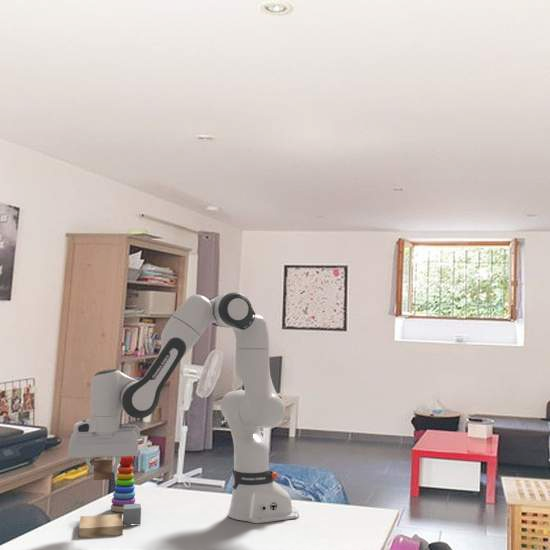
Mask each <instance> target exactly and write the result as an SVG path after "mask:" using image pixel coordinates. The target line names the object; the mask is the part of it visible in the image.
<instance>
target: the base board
mask: <svg viewBox="0 0 550 550" xmlns="http://www.w3.org/2000/svg"><path fill="white" fill-rule="evenodd" d="M78 528H79V529H78V538H92V537H109V535H110V536H118V535H117V534H123V533H124V526H123V514H122V513H119V514H115V513H114V514H101V515H100V514H99V515H84V516H83V515H81V516H80V518H79V527H78Z"/></svg>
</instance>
